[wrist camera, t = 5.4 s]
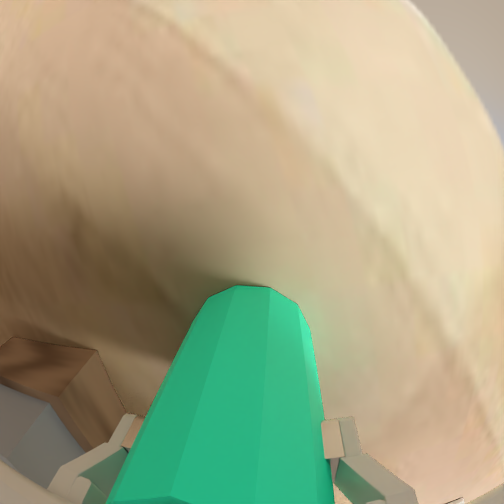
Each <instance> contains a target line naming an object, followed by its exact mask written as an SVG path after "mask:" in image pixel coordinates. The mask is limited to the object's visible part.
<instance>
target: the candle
mask: <svg viewBox="0 0 504 504" xmlns="http://www.w3.org/2000/svg"><path fill="white" fill-rule="evenodd" d="M322 420H325V419H324V412H323V405H322V398H321V392H320V386H319V379H318V373H317V367H316V361H315V355H314V349H313V344H312V338H311V333H310V328H309V326H308V324H307V322H306V320H305V318H304V316H303V314H302V312H301V310H300V308H299V306H298V304H296V303H294V302H293V301H291V300H290V299H288V298H286V297H285V296H283V295H281V294H280V293H278V292H277V291H275V290H273V289H272V288H269V287H255V286H242V285H236V286H233V287H231V288H229V289H227V290H224V291H222V292H220V293H218V294H215V295H213V296H211V297H209V298H208V299H207V300H206V302H205V303H204V305H203V306H202V308H201V310H200V311H199V313H198V314H197V316H196V317H195V319H194V320H193V322H192V324H191V326H190V328H189V330H188V332H187V334H186V336H185V338H184V340H183V342H182V344H181V346H180V348H179V350H178V352H177V354H176V356H175V358H174V360H173V362H172V364H171V366H170V368H169V370H168V372H167V374H166V376H165V378H164V380H163V382H162V384H161V386H160V388H159V390H158V393H157V395H156V397H155V399H154V401H153V403H152V405H151V407H150V409H149V411H148V413H147V415H146V417H145V419H144V421H143V424H142V426H141V428H140V430H139V432H138V434H137V436H136V438H135V440H134V442H133V445H132V447H131V449H130V451H129V453H128V455H127V457H126V459H125V462H124V464H123V466H122V468H121V470H120V472H119V475H118V477H117V479H116V481H115V483H114V486H113V488H112V490H111V492H110V494H109V497H108V499H107V501H106V503H105V504H335V501H334V491H333V482H332V473H331V466H330V465H329V464H328V462H327V461H326V460H325V455H324V447H323V438H322V429H321V421H322Z"/></svg>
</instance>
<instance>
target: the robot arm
mask: <svg viewBox="0 0 504 504" xmlns="http://www.w3.org/2000/svg"><path fill="white" fill-rule="evenodd" d="M144 419H145V416H139V415H134V414H128V413H126V414H125V415H124V416H123V417H122V419H121V421H120V422H119V424H118V426H117V428H116V429H115V431H114V433H113V435H112V437H111V438H110V440H109V442H108V443H103V444H101V445H99V446H98V447H96V448H94V449H92V450H91V451H89V452H87V453H85V454H83V455H81V456H80V457H78V458H76V459H74V460H72V461H70V462H68V463H66V464H64V465H62V466H61V467H60V468H59V470H58V472H57V473H56V475H55V477H54V478H53V480H52V482H51V483H50V485H49V487H48V488H47V489H45V488H43V487H41V486H40V485H38V484H36V483H35V482H33V481H31V480H30V479H28V478H27V477H25V476H24V475H22V474H21V473H19V472H17V471H16V470H15V469H13V468H12V467H10V466H9V465H7V464H6V463H5V462H3V461H2V460H1V459H0V504H105V503H106V501H107V499H108V497H109V494H110V492H111V490H112V488H113V486H114V483H115V481H116V479H117V477H118V475H119V472H120V470H121V468H122V466H123V464H124V462H125V459H126V457H127V455H128V453H129V451H130V449H131V447H132V445H133V442H134V440H135V438H136V436H137V434H138V432H139V430H140V428H141V426H142V424H143V421H144ZM321 429H322V438H323V447H324V455H325V460H326V461H327V462H328V464H329V465H330V466H331V473H332V482H333V483H334V484H335V485H336V486H337V487H338V488H339V490H340V491H341V492H342V493H343V494H344V495H345V496H346V497H347V498H348V499H349V500H350V501H351V502H352V504H418V501H417V497H416V494H415V490H414V489H413V488H412V487H410V486H409V485H408V484H406V483H405V482H404V481H402V480H401V479H400V478H398V477H397V476H396V475H394V474H393V473H392V472H390V471H389V470H388V469H386V468H385V467H384V466H382V465H381V464H380V463H379V462H377V461H376V460H375V459H373V458H372V457H371V456H370V455H368V454H367V453H366V454H362V449H361V445H360V440H359V436H358V432H357V428H356V424H355V420H354V418H353V417H346V418H339V419H337V418H336V419H329V420H322V421H321ZM448 504H464V498H461V499H458V500H456V501H453V502H450V503H448ZM466 504H504V483H502V484H501V485H499V486H498V487H496V488H494V489H492V490H491V491H489V492H487V493H485V494H483V495H482V496H480V497H478V498H476V499H474V500H472V501H470V502H468V503H466Z"/></svg>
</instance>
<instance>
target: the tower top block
mask: <svg viewBox="0 0 504 504" xmlns="http://www.w3.org/2000/svg"><path fill="white" fill-rule="evenodd" d="M83 454H85V451H84V450H83V449H82V448H81V446H80V445H79V444H78V443H77V441H76V440H75V439H74V437H73V436H72V435H71V433H70V432H69V431H68V429H67V428H66V427H65V425H64V424H63V422H62V421H61V420H60V418H59V417H58V415H57V414H56V412H55V411H54V409H53V408H52V406H51V405H50V403H48V402H45V401H42V400H40V399H37V398H34V397H31V396H29V395H26V394H23V393H21V392H18V391H16V390H13V389H11V388H9V387H6V386H4V385H2V384H0V459H1V460H2V461H3V462H5V463H6V464H7V465H9V466H10V467H12V468H13V469H15V470H16V471H17V472H19V473H21V474H22V475H24V476H25V477H27V478H28V479H30V480H31V481H33V482H35V483H36V484H38V485H40V486H41V487H43V488H45V489H47V488H48V487H49V485H50V483H51V482H52V480H53V478H54V477H55V475H56V473H57V472H58V470H59V468H60V467H61V466H62V465H64V464H66V463H68V462H70V461H72V460H74V459H76V458H78V457H80V456H81V455H83Z"/></svg>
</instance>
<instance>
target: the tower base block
mask: <svg viewBox="0 0 504 504" xmlns="http://www.w3.org/2000/svg"><path fill="white" fill-rule="evenodd" d="M0 384H2V385H4V386H6V387H9V388H11V389H13V390H16V391H18V392H21V393H23V394H26V395H29V396H31V397H34V398H37V399H40V400H42V401H45V402H48V403H50V405H51V406H52V408H53V409H54V411H55V412H56V414H57V415H58V417H59V418H60V420H61V421H62V422H63V424H64V425H65V427H66V428H67V429H68V431H69V432H70V433H71V435H72V436H73V437H74V439H75V440H76V441H77V443H78V444H79V445H80V446H81V448H82V449H83V450H84V451H85V453H87V452H89V451H91V450H92V449H94V448H96V447H98V446H99V445H101V444H103V443H108V442H109V440H110V438H111V437H112V435H113V433H114V431H115V429H116V428H117V426H118V424H119V422H120V421H121V419H122V417H123V416H124V415H125V414H126V411H125V409H124V407H123V405H122V403H121V401H120V399H119V397H118V395H117V393H116V391H115V389H114V387H113V385H112V383H111V381H110V379H109V377H108V375H107V372H106V370H105V368H104V366H103V363H102V361H101V359H100V356H99V354H98V352H97V350H90V349H82V348H74V347H67V346H61V345H54V344H48V343H42V342H37V341H31V340H26V339H21V338H17V337H12V338H11V339H10V340H8V341H7V342H6V343H5V344H4V345H2V346H1V347H0Z"/></svg>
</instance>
